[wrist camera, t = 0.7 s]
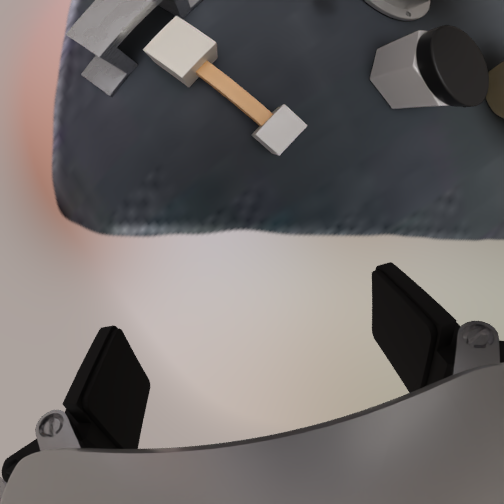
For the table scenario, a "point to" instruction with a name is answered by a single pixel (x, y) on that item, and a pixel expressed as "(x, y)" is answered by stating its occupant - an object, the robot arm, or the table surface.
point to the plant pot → (496, 90)
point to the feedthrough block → (116, 36)
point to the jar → (431, 70)
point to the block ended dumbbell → (219, 81)
